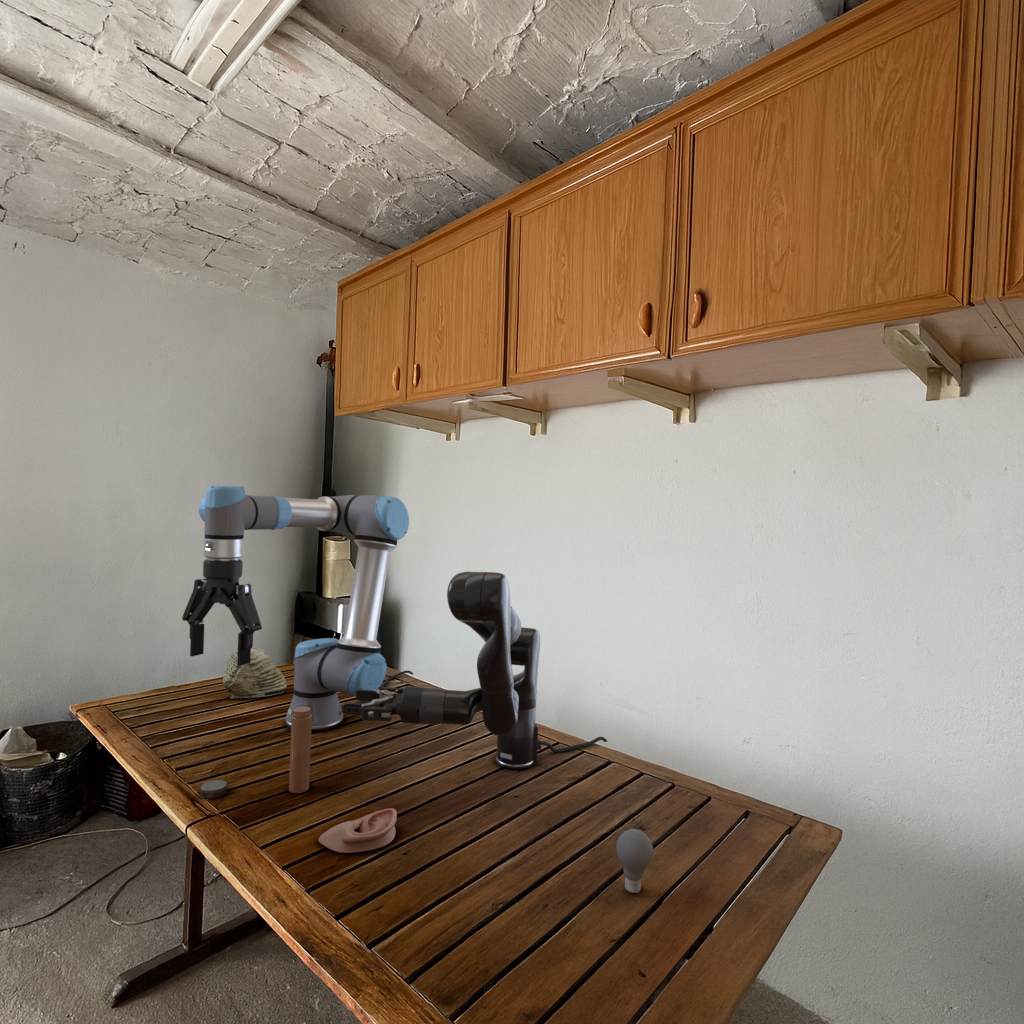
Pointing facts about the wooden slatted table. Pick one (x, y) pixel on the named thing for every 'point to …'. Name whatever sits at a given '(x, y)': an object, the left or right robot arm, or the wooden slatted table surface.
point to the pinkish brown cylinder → (300, 750)
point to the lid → (213, 789)
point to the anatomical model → (362, 833)
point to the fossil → (253, 676)
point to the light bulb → (634, 857)
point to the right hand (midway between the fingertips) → (350, 701)
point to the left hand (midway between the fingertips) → (219, 659)
